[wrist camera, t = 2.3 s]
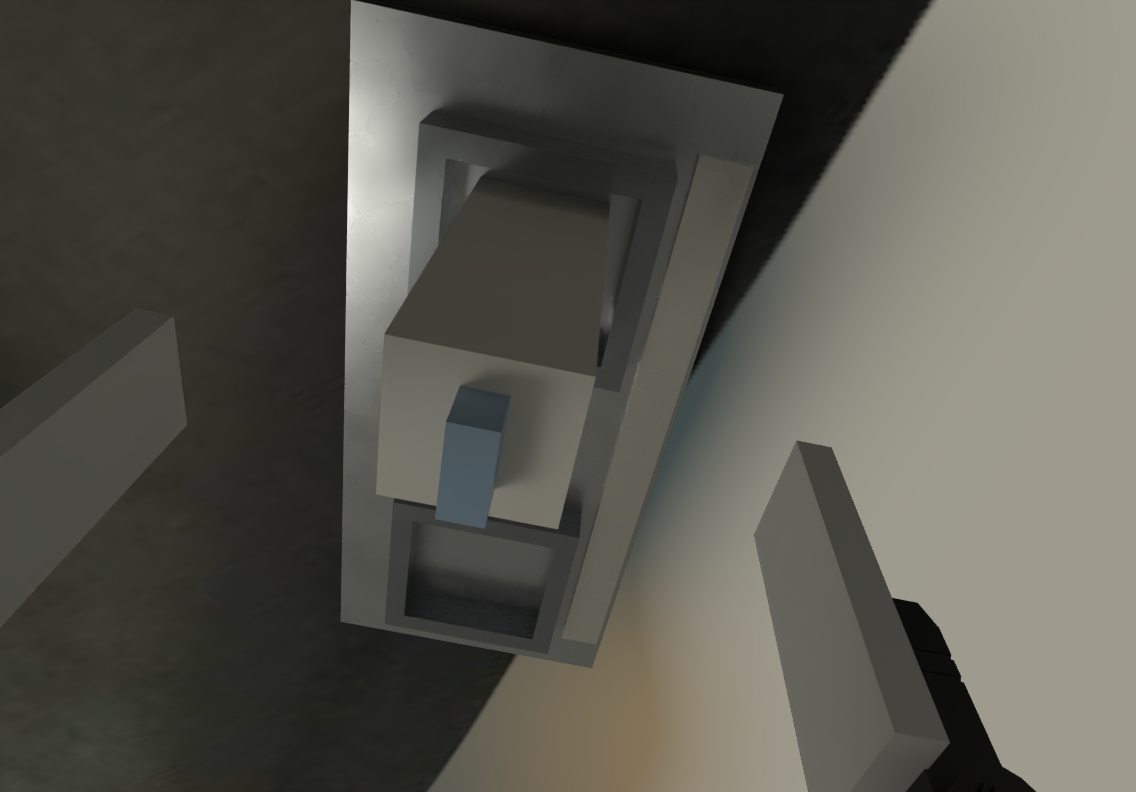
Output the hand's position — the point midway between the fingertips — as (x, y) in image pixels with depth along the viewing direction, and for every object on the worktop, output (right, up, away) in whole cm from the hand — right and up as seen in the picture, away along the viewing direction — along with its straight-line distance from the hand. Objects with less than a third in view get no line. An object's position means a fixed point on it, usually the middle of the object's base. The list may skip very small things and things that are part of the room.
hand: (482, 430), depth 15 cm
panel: (0, 0, +12) cm, 12 cm away
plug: (+1, +5, +7) cm, 9 cm away
